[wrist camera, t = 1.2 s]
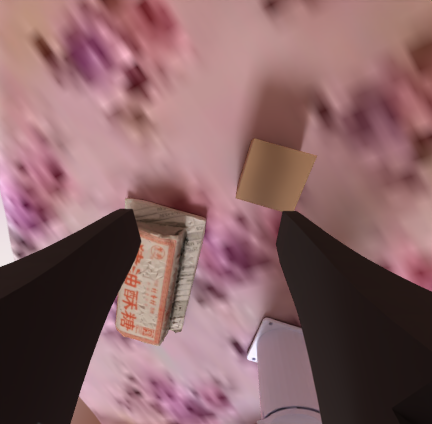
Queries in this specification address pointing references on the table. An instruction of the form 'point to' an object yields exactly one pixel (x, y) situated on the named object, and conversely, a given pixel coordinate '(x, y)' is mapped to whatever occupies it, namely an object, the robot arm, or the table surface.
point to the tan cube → (274, 175)
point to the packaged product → (159, 272)
